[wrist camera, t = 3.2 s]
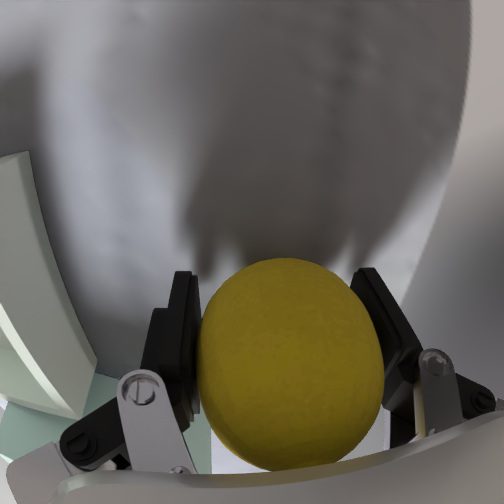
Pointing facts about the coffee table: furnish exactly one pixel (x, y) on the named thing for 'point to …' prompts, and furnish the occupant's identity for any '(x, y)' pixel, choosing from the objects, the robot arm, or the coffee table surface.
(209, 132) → the coffee table surface
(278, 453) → the lemon
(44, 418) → the l-shaped corner panel
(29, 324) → the bin
